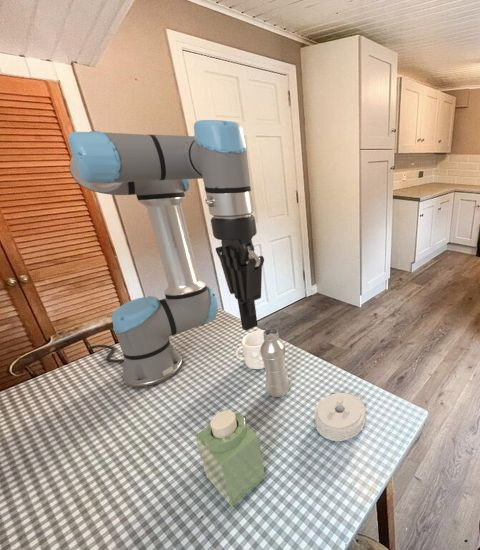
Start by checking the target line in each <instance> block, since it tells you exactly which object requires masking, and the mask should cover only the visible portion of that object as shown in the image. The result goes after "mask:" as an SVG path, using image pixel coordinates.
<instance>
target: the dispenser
mask: <svg viewBox="0 0 480 550" xmlns="http://www.w3.org/2000/svg"><path fill="white" fill-rule="evenodd" d="M234 413H235V416H236V421H237V429H236V431H235V432H234V433H233V434H232V435H230V436H229V437H226V438H223V439H217V438H215V437H214V436H213V434H212V429H211V425H210V422H209V423H208V424H207V425H206V427H205V428H204V429H202V430H200V431H199V432H197V433H195V435H194V437H195V440H196V444H197V447H198V451H199V455H200V460H201V463H202V466H203V470H204V474H205V477H206V478H207V479H208V480H209V482H210V483H211V484H212V486H213V487H214V488H215V489H216V490H217V491H218V493H219V494H220V495H221V496H222V497H223V499H224V500H225V501H226V502H227V504H228V505H229V506H230V507H231V508H234V507H235V506H236V505H237V504H239V502H240V501H242V500H243V499H244V497H246V496H247V495H248V494H249V493H250V492H251V491H252V490H253V489H254V488H255V487H257V486H258V485H259V484H260V483H261V482H262V481H263V480H264V479H265V478H266V473H265V468H264V463H263V461H264V460H263V456H262V449H261V445H260V439H259V438H260V437H259V435H258V434H257V433H255V431H254V430H252V429H251V428H250V427H249V426H248V425H247V424H246V423H247V422H246V418H245V417H244V416H243V415H241V413H237V412H234Z"/></svg>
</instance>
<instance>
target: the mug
mask: <svg viewBox="0 0 480 550" xmlns="http://www.w3.org/2000/svg"><path fill="white" fill-rule="evenodd" d="M264 331H265V329H261V330H260V329H259V330H255V331H251V332H249V333H246V334H245V335H244V336H243V337H242V339H241V345H240V346H239V347H237V349H235V353H234V355H235V357H236V358H237V359H238V360H242V361H244V364H245V366H246V367H248V368H249V369H252V370H263V369H265V367H264V362H263V359H262V357H261V354H260V348H261V345H262V344H263V342H264V334H263V333H264ZM240 350H242V353H243V356H240V354H239V352H240Z"/></svg>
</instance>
